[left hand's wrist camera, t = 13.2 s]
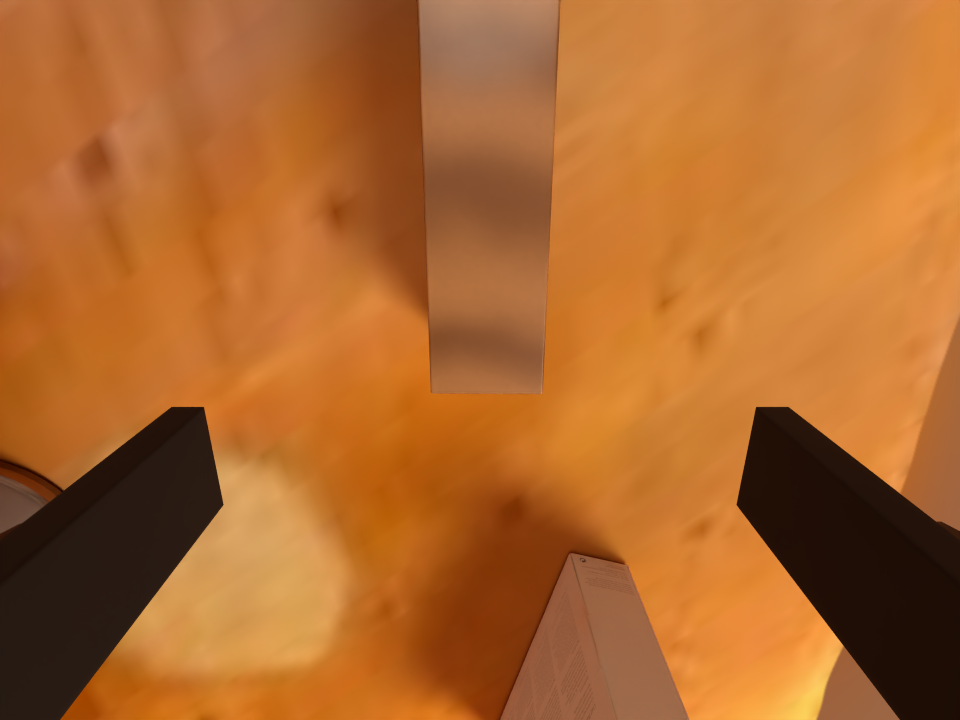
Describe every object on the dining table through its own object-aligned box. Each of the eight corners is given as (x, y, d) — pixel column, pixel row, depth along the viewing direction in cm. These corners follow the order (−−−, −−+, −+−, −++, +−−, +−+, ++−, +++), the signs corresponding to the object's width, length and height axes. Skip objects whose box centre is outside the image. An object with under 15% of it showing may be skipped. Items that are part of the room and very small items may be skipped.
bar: (528, 336, 34) (542, 394, 26) (445, 336, 34) (430, 394, 26) (547, -231, 25) (580, -449, 16) (431, -230, 25) (400, -446, 16)
